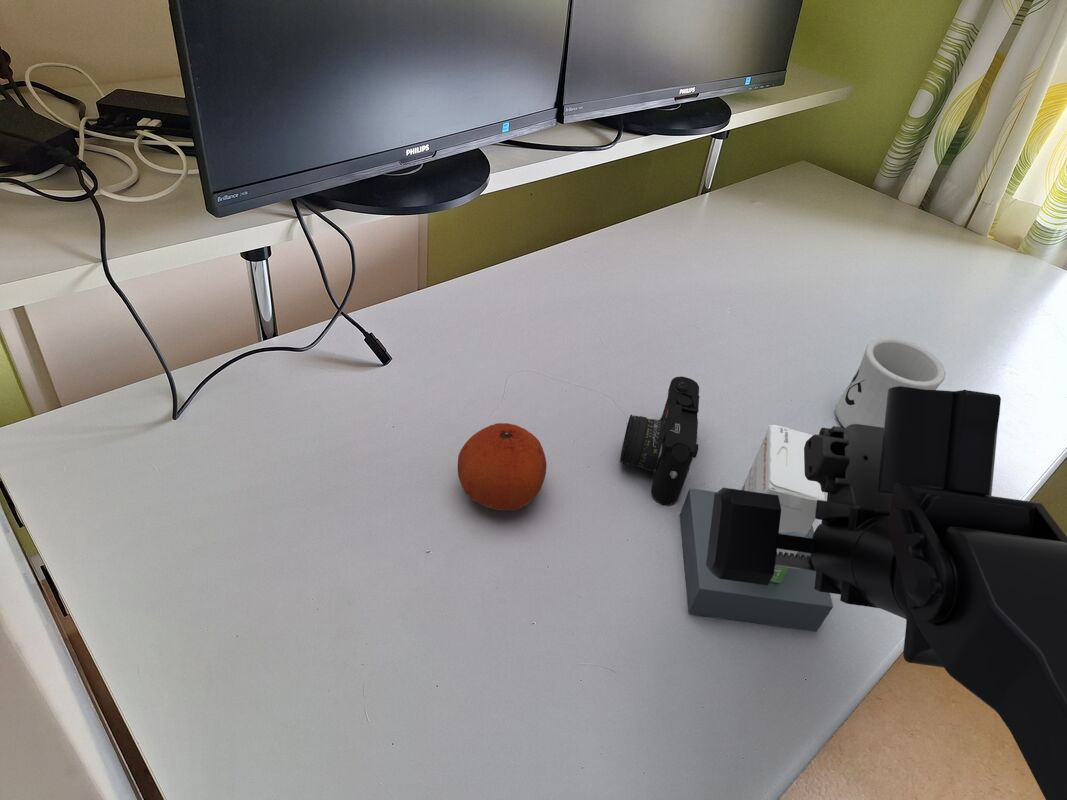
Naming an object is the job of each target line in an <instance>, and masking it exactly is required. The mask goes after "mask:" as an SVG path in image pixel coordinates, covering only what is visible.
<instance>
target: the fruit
mask: <svg viewBox="0 0 1067 800" xmlns="http://www.w3.org/2000/svg"><path fill="white" fill-rule="evenodd" d="M546 474H547V459H546V454H545V451H544V449H543V446H542V444H541V442H540V440H539V439H538V438H537V436H535V435H534V434H533V433H531V432H530V431H529V430H528V429H526V428H524V427H522V426H520V425H517V424H513V423H509V422H498V423H497V422H496V423H494V424H490V425H488V426H486V427H483V428H482V429H480V430H479V431H476V432H475V433H474V434H473V435H472V436H470V437H469V438H468V440H466V441H465V443H464V445H463V446H462V447H461V448H460V451H459V453H458V456H457V478H458V480H459V483H460V485H461V488H462V489H463V491H464V493H465V494H466V495H467V496H468V497H469V498H470V499H472V500H473V501H474V502H475V503H478V504H479V505H481V506H483V507H486V508H488V509H492V510H497V511H517V510H519V509H522V508H524V507H525V506H527V505H528V504H530V503H531V502H532V501H533V500H534V499H535V498H536V497H537V496H538V495H539V494H540V492H541V490H542V488H543V485H544V482H545V478H546Z"/></svg>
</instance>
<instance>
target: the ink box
mask: <svg viewBox="0 0 1067 800" xmlns="http://www.w3.org/2000/svg"><path fill="white" fill-rule="evenodd" d="M813 435H814V434H810V433H807V432H803V431H799V430H796V429H792V428H790V427H786V426H781V425H778V424H772V423H771V424H769V425H768V428H767V430H766V433H765V435H764V437H763V439H762V441H761V444H760V446H759V449H758V451H757V453H756V455H755V457H754V459H753V463H752V465H751V467H750V469H749V471H748V474H747V475H746V478H745V480H744V482H743V485H742V487H741V489H740V490H744V491H752V492H759V493H766V494H773V495H778V497H779V501H780V506H781V517H780V526H779V533H782V534H789V535H796V536H804V537H806V535H807V533H808V532H809V530H810V528H811V526H813V524H814V523H815V521H816V520H817V519H816V518H815V513H816V504H817V500H822V501H826V492H822V491H821V485H820V484H819V483H818V482H816V481H809V480H808V479H807V478H806V477H805V468H804V447H805V443H806V441H807V440H808V439H810V438H811V437H812V436H813ZM779 552H783V555H784V553H785V552H786V553H788V555H790V553H793V554H794V557H795V555H796V554H797V552H798V551H791V550H784V549H777V554H779ZM788 569H789V568H785V567H778V566H775V569H774V575H773V577H772V579H771V581H770V582H774V583H778V584H780V583H781V582H782V580H783V578H784V576H785V574H786V572H787V571H788Z"/></svg>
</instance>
